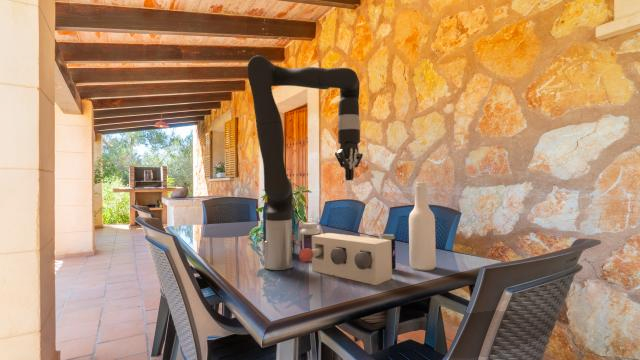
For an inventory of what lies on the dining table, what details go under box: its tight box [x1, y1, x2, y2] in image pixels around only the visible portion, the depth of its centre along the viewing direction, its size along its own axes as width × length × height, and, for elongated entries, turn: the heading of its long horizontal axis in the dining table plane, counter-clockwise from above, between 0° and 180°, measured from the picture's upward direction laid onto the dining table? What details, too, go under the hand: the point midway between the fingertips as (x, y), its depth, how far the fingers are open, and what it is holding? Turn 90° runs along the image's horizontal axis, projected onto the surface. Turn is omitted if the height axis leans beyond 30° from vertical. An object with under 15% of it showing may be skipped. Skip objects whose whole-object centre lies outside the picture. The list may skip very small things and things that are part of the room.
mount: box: [311, 232, 393, 286], centre depth 113 cm, size 9×26×12 cm, turn 47°
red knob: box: [298, 247, 324, 263], centre depth 114 cm, size 9×4×4 cm, turn 137°
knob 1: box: [331, 248, 347, 265], centre depth 111 cm, size 9×5×5 cm, turn 137°
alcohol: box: [408, 181, 437, 272], centre depth 121 cm, size 9×9×30 cm
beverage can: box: [378, 233, 397, 272], centre depth 118 cm, size 6×6×12 cm
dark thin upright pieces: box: [262, 195, 296, 255], centre depth 147 cm, size 6×12×25 cm, turn 114°
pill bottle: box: [299, 221, 321, 262], centre depth 136 cm, size 8×8×14 cm
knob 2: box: [354, 251, 372, 269], centre depth 105 cm, size 9×5×5 cm, turn 137°
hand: (349, 180), depth 117 cm, fingers closed
